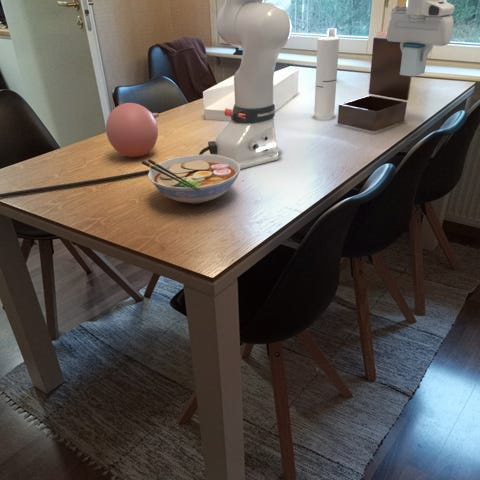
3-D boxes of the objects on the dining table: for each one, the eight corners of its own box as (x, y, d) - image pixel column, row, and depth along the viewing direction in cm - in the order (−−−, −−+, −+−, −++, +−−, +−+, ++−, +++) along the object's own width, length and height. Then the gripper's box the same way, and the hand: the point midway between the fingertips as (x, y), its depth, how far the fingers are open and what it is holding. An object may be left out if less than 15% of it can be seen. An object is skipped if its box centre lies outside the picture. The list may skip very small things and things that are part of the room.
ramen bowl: (262, 201, 120) (262, 168, 115) (182, 228, 110) (178, 194, 105) (208, 173, 137) (206, 144, 132) (135, 195, 127) (129, 164, 122)
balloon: (181, 148, 156) (175, 97, 147) (135, 167, 144) (126, 113, 134) (147, 141, 164) (139, 92, 154) (101, 159, 151) (90, 106, 142)
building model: (249, 91, 215) (249, 67, 209) (297, 93, 207) (298, 68, 201) (205, 119, 182) (202, 91, 176) (260, 122, 175) (259, 94, 169)
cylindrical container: (333, 120, 173) (338, 40, 158) (313, 119, 175) (316, 40, 159) (334, 114, 179) (339, 36, 164) (314, 114, 180) (318, 37, 165)
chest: (374, 134, 158) (377, 112, 154) (337, 125, 168) (338, 104, 164) (404, 122, 167) (407, 101, 163) (366, 115, 176) (369, 95, 172)
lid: (414, 41, 151) (423, 38, 153) (373, 37, 161) (381, 35, 163) (406, 100, 162) (414, 97, 164) (368, 93, 172) (376, 90, 174)
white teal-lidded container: (413, 76, 149) (418, 45, 144) (398, 74, 152) (402, 43, 147) (425, 73, 152) (430, 42, 147) (410, 71, 155) (414, 40, 150)
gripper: (385, 6, 146) (379, 58, 154) (448, 9, 133) (438, 65, 142) (397, 4, 149) (391, 55, 157) (460, 6, 136) (449, 61, 145)
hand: (414, 60), depth 149 cm, fingers closed on white teal-lidded container, 5 cm apart
